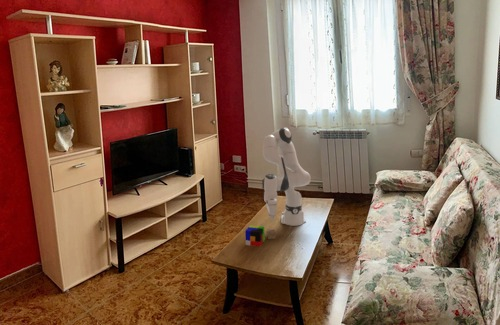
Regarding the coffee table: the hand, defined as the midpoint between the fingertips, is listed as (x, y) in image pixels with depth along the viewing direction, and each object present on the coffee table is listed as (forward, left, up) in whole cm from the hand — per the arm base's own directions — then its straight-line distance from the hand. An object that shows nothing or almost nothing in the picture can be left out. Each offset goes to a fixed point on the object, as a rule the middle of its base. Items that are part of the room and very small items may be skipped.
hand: (270, 218), depth 283 cm
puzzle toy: (+7, -12, -15) cm, 20 cm away
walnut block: (0, 0, -14) cm, 14 cm away
